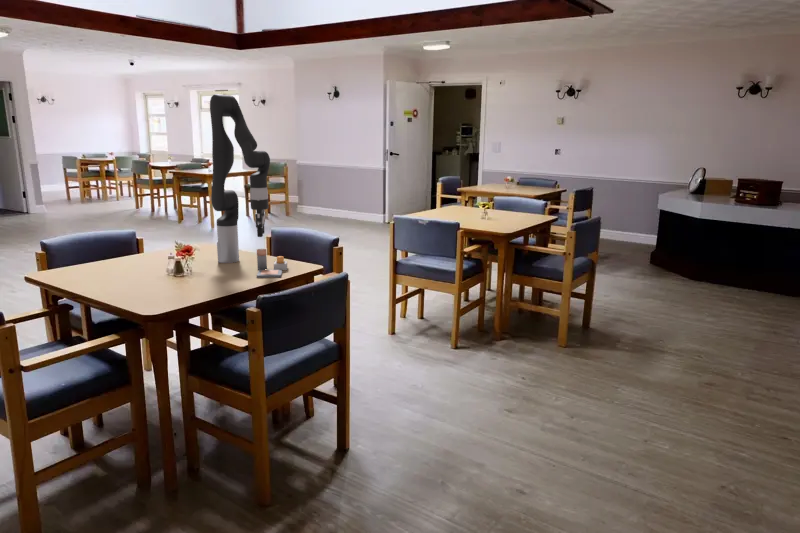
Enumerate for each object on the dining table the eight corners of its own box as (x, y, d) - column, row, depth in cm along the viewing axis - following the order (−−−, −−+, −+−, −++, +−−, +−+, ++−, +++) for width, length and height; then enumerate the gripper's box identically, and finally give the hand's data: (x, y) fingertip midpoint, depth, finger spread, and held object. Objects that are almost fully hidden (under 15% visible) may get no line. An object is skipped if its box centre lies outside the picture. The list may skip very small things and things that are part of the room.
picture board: (256, 277, 236) (256, 275, 236) (258, 272, 246) (258, 269, 245) (281, 277, 238) (280, 274, 237) (282, 271, 247) (282, 269, 247)
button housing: (273, 270, 249) (273, 264, 248) (274, 267, 254) (274, 261, 253) (286, 270, 250) (286, 263, 249) (287, 267, 255) (287, 261, 254)
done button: (276, 264, 250) (276, 257, 249) (277, 262, 252) (277, 256, 252) (283, 264, 250) (283, 257, 249) (284, 262, 253) (283, 256, 252)
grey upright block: (257, 270, 248) (256, 250, 246) (257, 268, 252) (257, 248, 250) (266, 270, 249) (266, 250, 247) (267, 268, 253) (266, 248, 251)
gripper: (252, 196, 250) (254, 232, 253) (248, 199, 236) (250, 238, 240) (269, 196, 251) (271, 232, 255) (266, 199, 237) (268, 237, 241)
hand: (261, 235), depth 247 cm, fingers open, 8 cm apart
